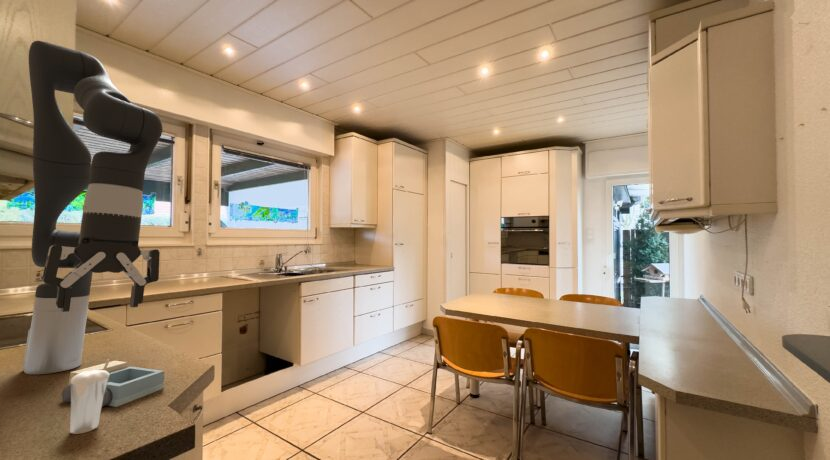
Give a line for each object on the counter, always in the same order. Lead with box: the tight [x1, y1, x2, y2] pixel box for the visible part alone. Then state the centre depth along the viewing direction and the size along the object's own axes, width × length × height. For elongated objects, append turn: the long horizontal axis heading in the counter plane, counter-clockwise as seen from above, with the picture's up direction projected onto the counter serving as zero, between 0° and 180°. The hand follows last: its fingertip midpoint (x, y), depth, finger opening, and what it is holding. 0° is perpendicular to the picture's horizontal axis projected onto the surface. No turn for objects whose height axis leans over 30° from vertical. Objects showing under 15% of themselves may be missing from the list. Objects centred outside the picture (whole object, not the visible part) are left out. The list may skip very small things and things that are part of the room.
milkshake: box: [69, 359, 111, 435], centre depth 54 cm, size 4×5×10 cm
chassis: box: [61, 360, 165, 408], centre depth 67 cm, size 13×11×5 cm
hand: (101, 308), depth 56 cm, fingers open, 8 cm apart
